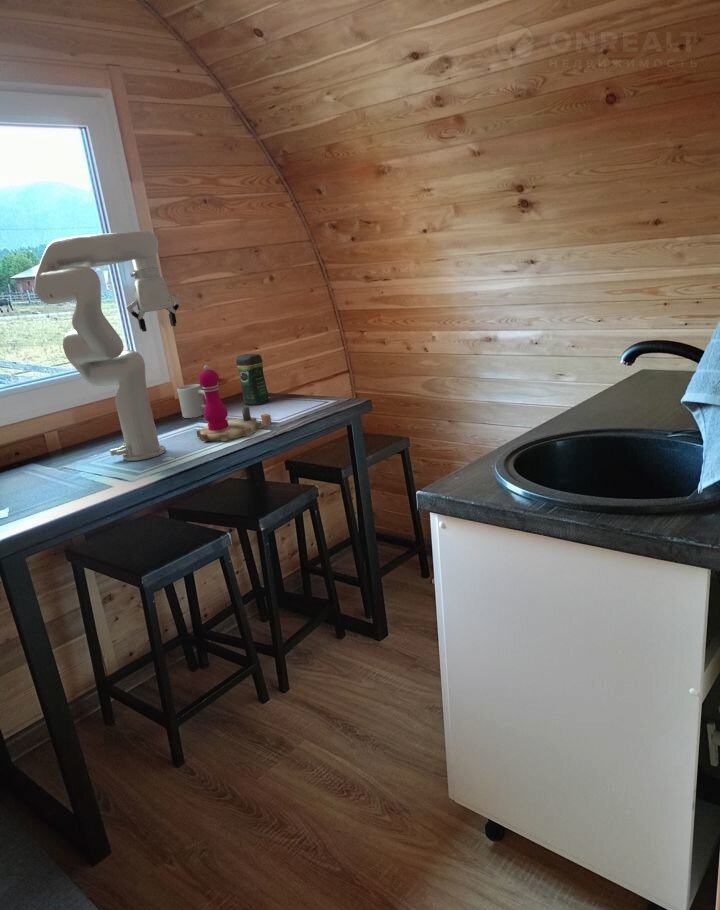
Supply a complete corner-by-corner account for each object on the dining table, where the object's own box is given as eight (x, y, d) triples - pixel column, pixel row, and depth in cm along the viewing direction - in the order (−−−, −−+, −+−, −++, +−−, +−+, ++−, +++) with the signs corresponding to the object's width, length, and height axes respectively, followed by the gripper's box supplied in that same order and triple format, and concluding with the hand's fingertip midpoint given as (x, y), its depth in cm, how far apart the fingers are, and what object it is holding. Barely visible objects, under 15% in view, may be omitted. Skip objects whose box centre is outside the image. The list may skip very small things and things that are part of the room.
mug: (178, 419, 259) (171, 389, 256) (192, 413, 267) (186, 384, 263) (204, 418, 254) (198, 388, 251) (218, 412, 261) (213, 383, 258)
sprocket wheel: (222, 444, 213) (218, 425, 212) (185, 438, 227) (181, 420, 226) (274, 426, 227) (271, 407, 225) (236, 421, 241) (233, 403, 239)
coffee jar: (273, 401, 268) (264, 351, 262) (257, 406, 262) (248, 356, 257) (256, 399, 274) (247, 351, 269) (240, 405, 269) (231, 356, 263)
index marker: (266, 425, 232) (264, 416, 231) (262, 423, 234) (260, 415, 233) (271, 423, 233) (270, 414, 232) (268, 422, 235) (266, 413, 234)
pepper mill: (225, 429, 221) (212, 366, 216) (203, 431, 223) (190, 368, 217) (233, 423, 228) (221, 361, 222) (212, 425, 229) (199, 364, 224)
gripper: (123, 278, 219) (135, 333, 224) (177, 270, 228) (188, 324, 232) (117, 278, 226) (129, 333, 230) (170, 271, 234) (181, 323, 239)
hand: (159, 328), depth 231 cm, fingers open, 9 cm apart
